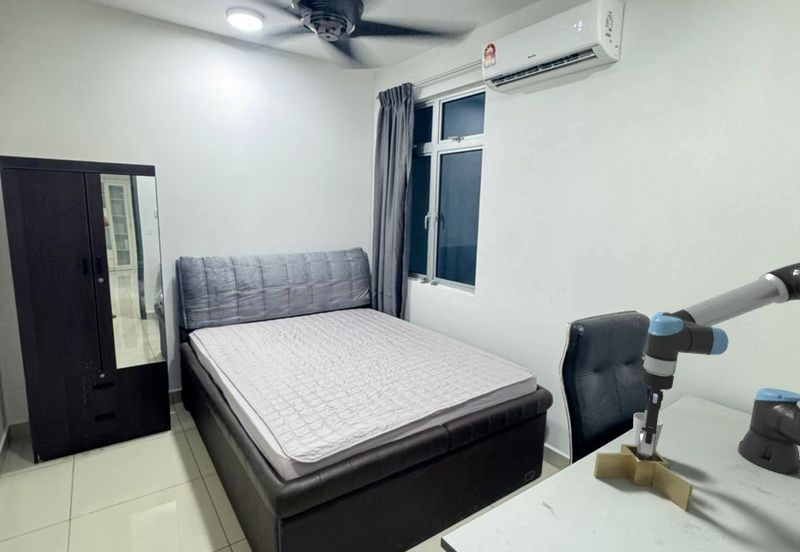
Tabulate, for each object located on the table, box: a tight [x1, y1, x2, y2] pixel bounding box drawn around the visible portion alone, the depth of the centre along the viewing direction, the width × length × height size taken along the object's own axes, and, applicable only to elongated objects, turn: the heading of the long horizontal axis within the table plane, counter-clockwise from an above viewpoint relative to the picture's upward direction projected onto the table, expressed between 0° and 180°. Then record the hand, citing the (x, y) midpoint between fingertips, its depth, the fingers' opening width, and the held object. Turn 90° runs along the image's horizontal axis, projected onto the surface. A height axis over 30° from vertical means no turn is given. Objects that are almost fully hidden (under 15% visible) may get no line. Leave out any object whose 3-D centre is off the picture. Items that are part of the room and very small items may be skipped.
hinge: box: [593, 443, 694, 512], centre depth 116 cm, size 19×18×7 cm
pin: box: [636, 431, 656, 461], centre depth 120 cm, size 4×4×13 cm
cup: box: [631, 412, 664, 451], centre depth 132 cm, size 8×8×12 cm
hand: (646, 442), depth 119 cm, fingers open, 13 cm apart
